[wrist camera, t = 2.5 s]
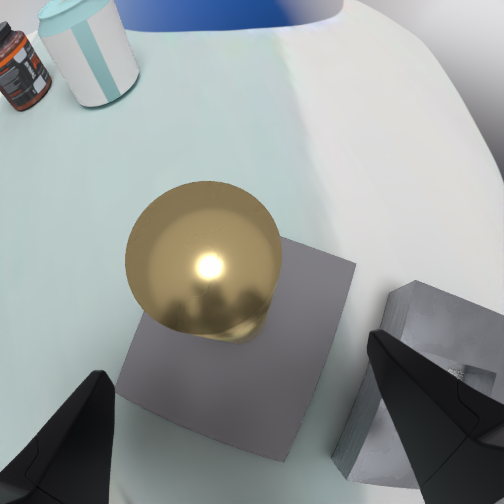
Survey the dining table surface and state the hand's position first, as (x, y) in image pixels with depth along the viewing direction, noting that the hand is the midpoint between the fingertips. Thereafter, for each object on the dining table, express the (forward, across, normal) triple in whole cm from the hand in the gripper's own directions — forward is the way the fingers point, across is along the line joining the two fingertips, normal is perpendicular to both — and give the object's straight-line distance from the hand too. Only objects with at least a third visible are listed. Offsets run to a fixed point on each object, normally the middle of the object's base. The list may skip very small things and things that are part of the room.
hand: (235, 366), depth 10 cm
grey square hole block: (+3, -12, +11) cm, 17 cm away
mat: (+8, 0, +6) cm, 10 cm away
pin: (+8, 0, +5) cm, 10 cm away
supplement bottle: (+29, +22, -14) cm, 39 cm away
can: (+26, +10, -11) cm, 31 cm away
